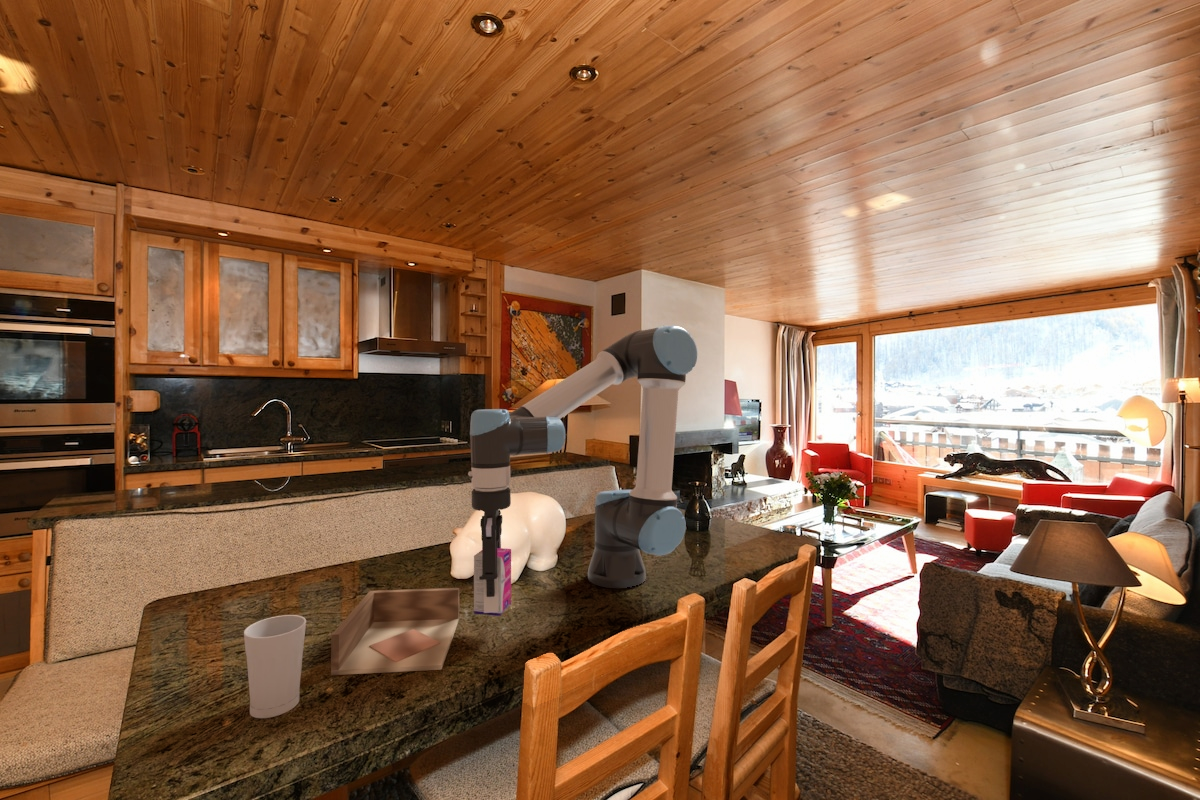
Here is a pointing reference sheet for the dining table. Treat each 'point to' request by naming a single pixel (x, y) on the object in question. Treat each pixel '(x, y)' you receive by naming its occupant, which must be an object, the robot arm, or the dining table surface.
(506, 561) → the supplement box
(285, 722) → the dining table surface
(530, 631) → the dining table surface
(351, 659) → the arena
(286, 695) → the cup
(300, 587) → the dining table surface
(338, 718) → the dining table surface
